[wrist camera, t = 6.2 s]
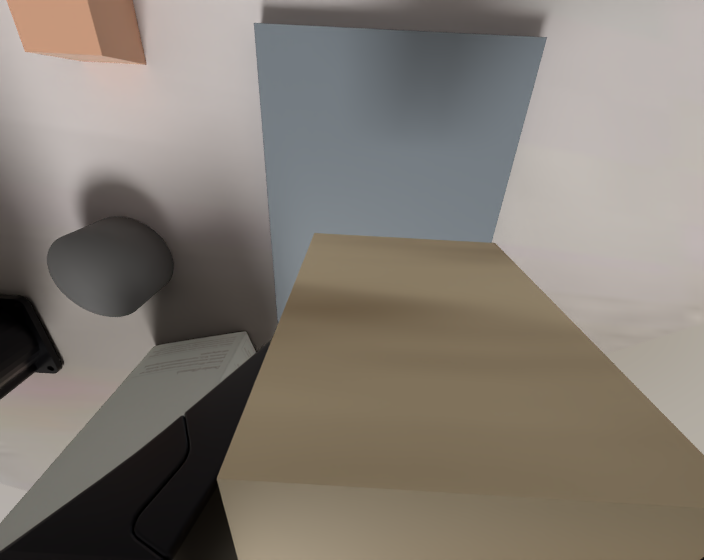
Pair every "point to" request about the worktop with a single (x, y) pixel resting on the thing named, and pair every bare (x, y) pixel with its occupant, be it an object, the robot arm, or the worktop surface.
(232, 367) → the supplement box
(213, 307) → the worktop surface
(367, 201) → the slate board
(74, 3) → the terracotta tile
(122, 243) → the smooth grey pebble
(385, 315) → the beech block
